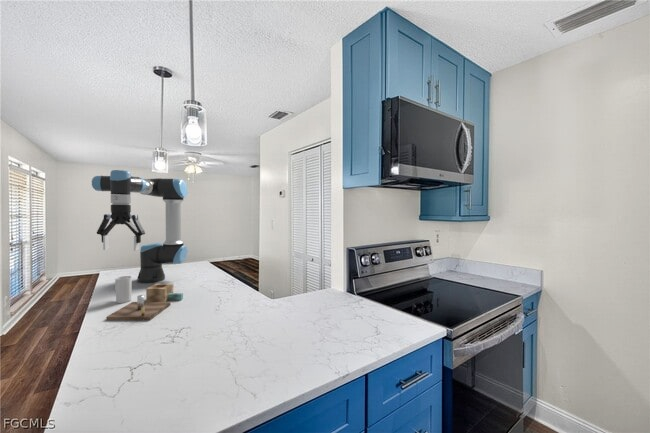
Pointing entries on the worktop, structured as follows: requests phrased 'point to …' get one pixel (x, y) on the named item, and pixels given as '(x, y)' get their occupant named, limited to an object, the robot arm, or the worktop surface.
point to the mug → (123, 289)
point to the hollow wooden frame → (162, 293)
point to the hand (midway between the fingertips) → (121, 249)
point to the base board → (139, 311)
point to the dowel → (142, 311)
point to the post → (140, 302)
